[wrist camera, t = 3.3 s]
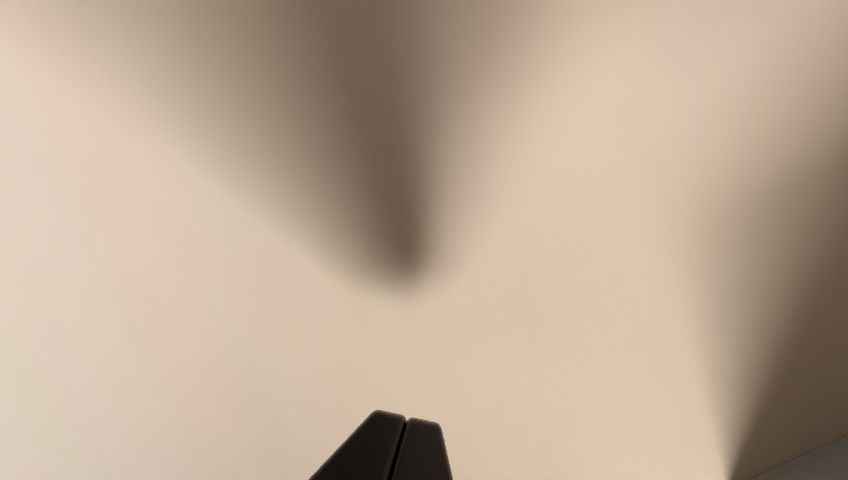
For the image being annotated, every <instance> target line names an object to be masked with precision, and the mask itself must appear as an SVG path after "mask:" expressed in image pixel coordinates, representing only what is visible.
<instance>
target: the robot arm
mask: <svg viewBox="0 0 848 480" xmlns="http://www.w3.org/2000/svg"><path fill="white" fill-rule="evenodd" d="M406 422H407V423H406ZM309 480H453V477H452V473H451V469H450V464H449V460H448V455H447V451H446V446H445V442H444V437H443V433H442V429H441V427H440V425H439V424H438V423H435V422H431V421H427V420H422V419H418V418H410V419H409V420H408V421H407V420H406V418H405V417H404V416H403V415H400V414H395V413H391V412H386V411H382V410H377V411H374V412H373V413H371V414H370V415H369V416H368V417H367V418H366V420H365V421H364V422H363V423H362V424H361V425H360V426H359V427H358V428H357V429H356V430H355V431H354V432H353V433H352V434H351V435H350V436H349V437H348V439H347V440H346V441H345V442H344V443H343V444H342V445H341V446H340V447H339V448H338V449H337V450H336V451H335V452H334V453H333V454H332V455H331V456H330V457H329V459H328V460H327V461H326V462H325V463H324V464H323V465H322V466H321V467H320V468H319V469H318V470H317V471H316V472H315V473H314V474H313V475H312V476H311V477H310V479H309Z"/></svg>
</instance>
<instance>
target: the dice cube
mask: <svg viewBox="0 0 848 480" xmlns="http://www.w3.org/2000/svg"><path fill="white" fill-rule="evenodd" d="M749 480H848V434H847V435H845V436H843V437H841V438H839V439H836V440H834V441H832V442H830V443H828V444H825V445H823V446H821V447H819V448H817V449H815V450H812V451H810V452H808V453H806V454H804V455H801V456H799V457H797V458H795V459H793V460H790V461H788V462H786V463H784V464H782V465H780V466H777V467H775V468H773V469H771V470H769V471H766V472H764V473H762V474H760V475H758V476H755V477H753V478H751V479H749Z"/></svg>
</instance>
